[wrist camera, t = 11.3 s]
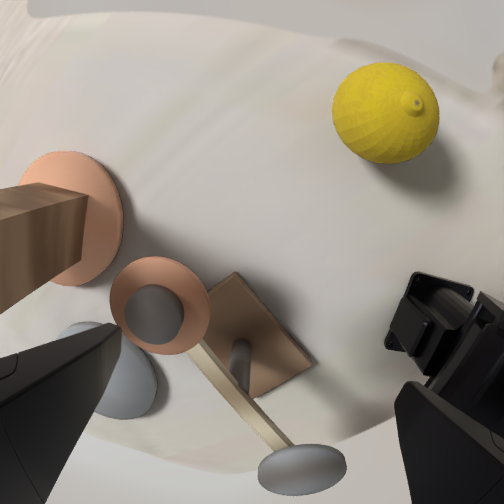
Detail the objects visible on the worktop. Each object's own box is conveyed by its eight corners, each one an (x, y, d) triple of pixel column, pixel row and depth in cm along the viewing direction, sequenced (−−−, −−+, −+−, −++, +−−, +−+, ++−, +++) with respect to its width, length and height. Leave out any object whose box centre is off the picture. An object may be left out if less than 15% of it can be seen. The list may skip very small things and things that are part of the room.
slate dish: (161, 342, 23) (157, 350, 22) (154, 423, 26) (151, 431, 25) (55, 307, 23) (48, 313, 22) (64, 390, 26) (59, 397, 25)
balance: (340, 393, 24) (363, 472, 16) (283, 424, 26) (287, 503, 17) (188, 214, 21) (140, 250, 12) (128, 266, 22) (65, 322, 13)
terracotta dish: (134, 160, 20) (127, 161, 19) (116, 295, 23) (110, 301, 21) (28, 145, 19) (19, 145, 18) (21, 263, 22) (13, 267, 21)
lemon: (378, 178, 20) (439, 190, 12) (306, 135, 19) (333, 120, 11) (411, 110, 18) (479, 93, 10) (342, 67, 18) (384, 21, 10)
